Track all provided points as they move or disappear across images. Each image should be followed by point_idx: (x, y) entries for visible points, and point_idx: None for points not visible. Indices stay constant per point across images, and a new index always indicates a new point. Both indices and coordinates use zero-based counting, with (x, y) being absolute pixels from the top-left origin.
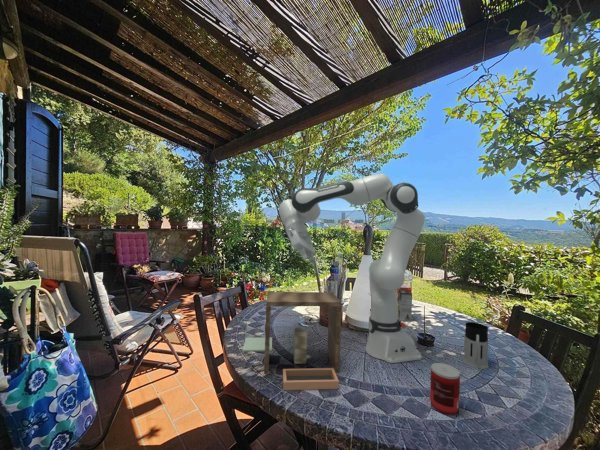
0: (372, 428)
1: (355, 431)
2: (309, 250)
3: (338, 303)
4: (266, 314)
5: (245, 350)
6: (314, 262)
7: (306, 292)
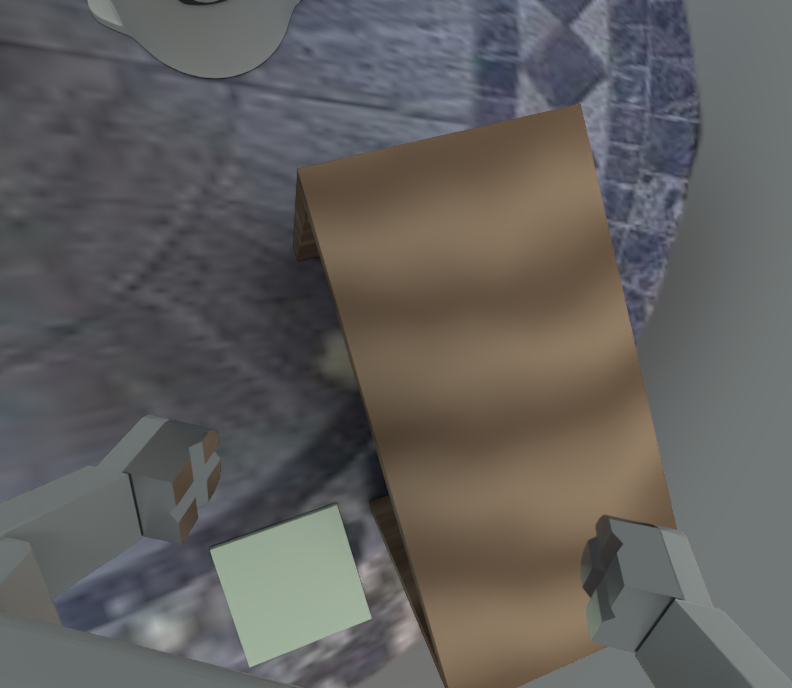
0: (662, 126)
1: (677, 170)
2: (225, 669)
3: (580, 129)
4: None
5: (367, 606)
6: (163, 419)
7: (377, 408)
